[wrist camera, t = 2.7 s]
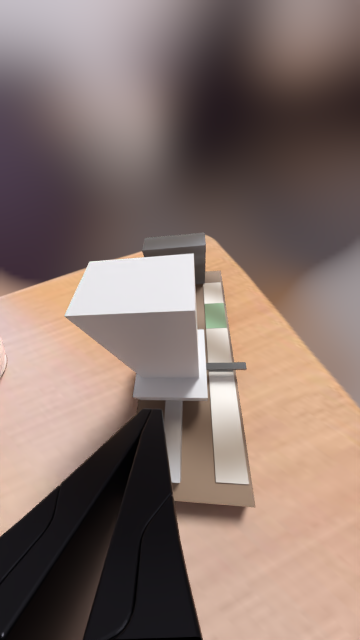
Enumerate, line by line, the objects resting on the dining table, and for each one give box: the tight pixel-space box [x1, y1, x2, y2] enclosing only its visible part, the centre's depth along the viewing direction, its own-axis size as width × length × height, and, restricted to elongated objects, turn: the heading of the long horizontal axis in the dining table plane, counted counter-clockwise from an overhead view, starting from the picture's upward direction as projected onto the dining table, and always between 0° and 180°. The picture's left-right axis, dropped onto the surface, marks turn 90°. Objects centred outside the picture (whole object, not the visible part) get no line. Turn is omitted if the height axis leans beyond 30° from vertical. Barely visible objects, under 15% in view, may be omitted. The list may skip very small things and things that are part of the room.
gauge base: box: [137, 233, 255, 507], centre depth 14 cm, size 20×8×6 cm, turn 179°
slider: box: [64, 253, 246, 401], centre depth 10 cm, size 5×8×10 cm, turn 89°
